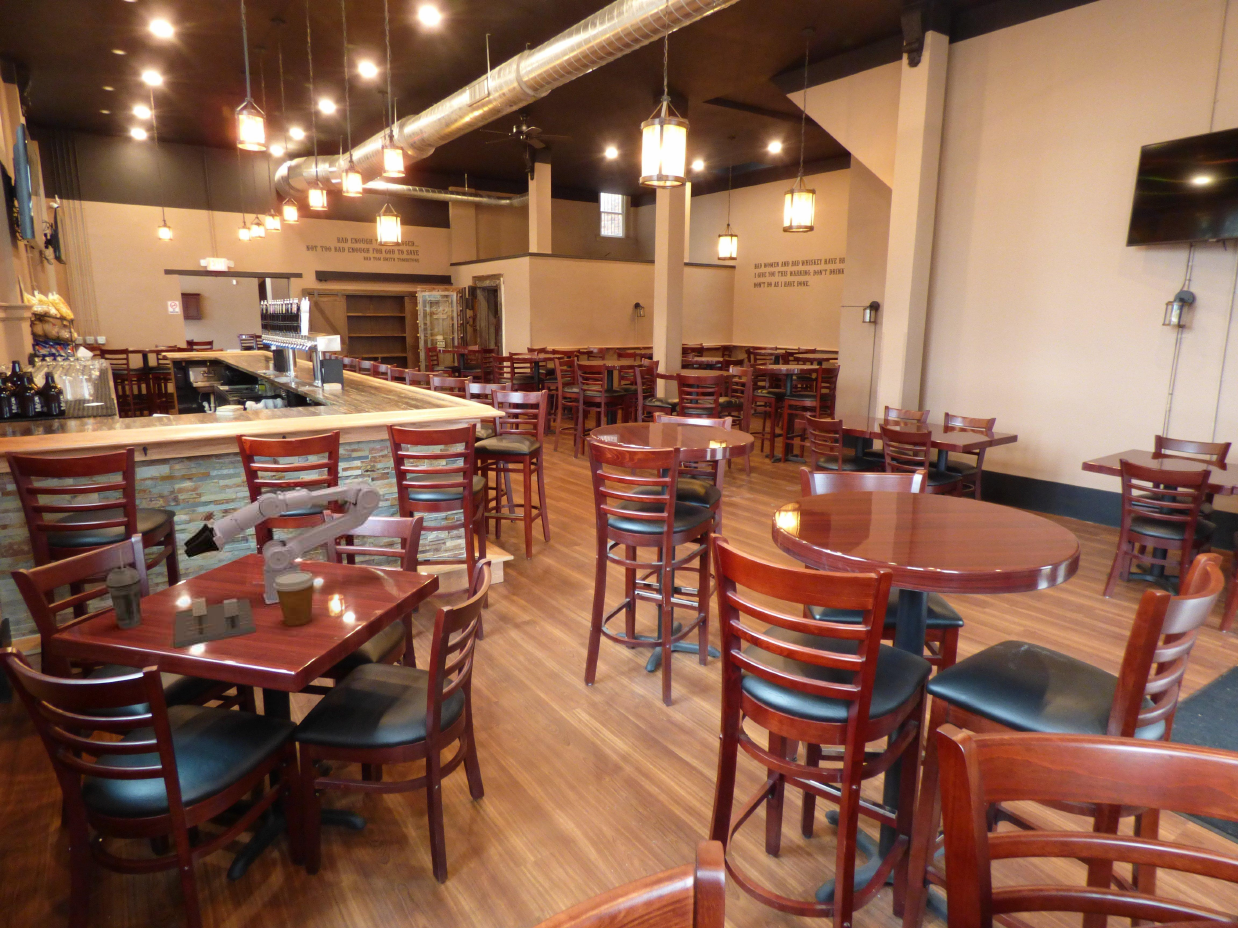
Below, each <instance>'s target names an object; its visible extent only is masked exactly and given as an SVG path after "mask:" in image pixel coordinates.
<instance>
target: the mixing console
mask: <svg viewBox="0 0 1238 928" xmlns="http://www.w3.org/2000/svg"><path fill="white" fill-rule="evenodd" d="M237 606H238V614H239V615H236V616H231V617H226V618H225V611H224V603H217V604H212V605H206V611H207V614H205V615H200V616H194V617H193V610H192V608H190V609H182V610H178V611H175V612H174V613H175V615H174V649H179V648H182V647H183V646H184V647H188V646H193V645H198V644H203V643H206V642H213V641H217V640H223V639H227V638H232V637H237V636H242V635H247V634H253V633H256V626H255V622H254V617H253V613H252V612H253V611H252V608H251V605H250V601H249V598H243V599H239V600H237ZM178 647H179V648H178Z"/></svg>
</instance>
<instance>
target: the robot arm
mask: <svg viewBox="0 0 1238 928" xmlns="http://www.w3.org/2000/svg"><path fill="white" fill-rule="evenodd" d="M338 500H344V501H348V502H349V503H350V505H349V508H348V511H347V512H346V513H344V514H341V515H339V516H337V517H335V518H333V519H330V520H328V521H325V522H324V523H321V524H320V525H317V526H314V527H313V528H311V529H308V530H306V531H303V532H302V533H301V532H300V533H299V534H296V535H294V536H289V537H287V536H286V537H284V538H282V539H272V540H270V541H268V542H266V543H265V544H264V545H263V547H262V549H261V553H262V554H261V555H262V557H263V558H264V561H265V562H264V563H265V564H264V565H263V566H262V570H263V580H264V590H265V593H263V599H264V601H265V604H266V605H271V604H275V603H280V602H279V598H278V594H277V590H276V589H275V587H274V583H275V579H276V578H277V577H278V576H280V575H283V574H286V573H290V572H298V571H301V566H300V564H299V563H296V564H295V563H294V564H293V563H292V562H293V561H295V560H297V559H298V558H299V557H301V555H302V554H303V553H305V552H307V551H310V550H313V549H315V548H316V547H319V546H321V545H323V544H325V543H326V542H330V541H331V540H334V539H335V538H338V537H340V536H342V535H345V534H346V533H349V532H351V531H353V530H355V529H358V528H360V527H362V526H364V524H366V522H367V521H368V520H369V518H370V517H371V516H372V514H373V513H374V512H375V511H376V510H378V508H379V505H380V502H381V494H380V492H379V490H377V489H376V488H375V487H373V486H372V484H370V483H369V482H366V481H361V482H351V483H347V484H340V485H336V486H331V487H329V488H322V489H319V490H318V489H317V490H314V491H309V490H308V489H306V488H301V486H299V487H295V490H290V491H289V490H288V491H283V492H282V491H281V490H279V491H276V494H275V493H262V494H261V495H260V496H259V497H258V499H257V500H256V501H254V502H252V503H249V504H247V505H245V506H243V507H242V508H240V509H237V510H236V511H233V512H232V513H231V514H228V515H226V516H225V517H224V518H221V519H219V520H217V521H215V520H214V519H213V518H212V519H210V520H209V521H210V522H209V523H210V524H211V526H210V527H209V525H208V524H207V523H204V524H203V525H202V526H201V528H200V529H199V530H198V531H197V532H196V533H195V534H193V535H192V536H191V537H189V538H188V539H187V540H186V541H185V542H183V545H184V546H185V550H183V553H184V554H185V555H186V556H187V557H188V558H189V559H190V558H193V557H197V556H199V555H202V554H206V553H211V552H219V551H220V548H219V547H218V546H219V545H222V543H223V544H226V543H227V542H228V541H229V540H231V539H233V538H235V537H237V536H239V535H241V534H242V533H244V532H246V531H249V530H250V529H252V528H254V527H255V526H257V525H259V524H260V523H262V522H263V521H265V520H267V519H270V518H272V519H273V518H274V519H275V518H278V517H280V516H281V515H282V514H287V513H292V512H298V511H303V510H308V509H310V508H311V507H312V505H313V504H318V503H324V502H332V501H338Z"/></svg>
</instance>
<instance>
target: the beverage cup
mask: <svg viewBox="0 0 1238 928" xmlns="http://www.w3.org/2000/svg"><path fill="white" fill-rule="evenodd" d="M118 557H119V564H120V566H118V567H116V568H113V570H111V571H110V572H109V574H108V576H107V577H106V585H105V587H107V591H108V593H109V595H110V598H111V602H112V605H113V606H112V607H113V609H114V613H115V617H116V621H117V624H118V626H119V629H121V630H127V629H132V628H135V627H136V628H137V627H138V626H140V625H141V621H142V620H141V617H142V612H141V592H140V591H141V590H140V588H141V581H142V579H141V577H140V574H139V572H138V571H137V570H136V569H135V568H133V567H130V566H127V565H125V566H124V562H123V561H124V560H123V556H122V549H121V548H119V549H118Z"/></svg>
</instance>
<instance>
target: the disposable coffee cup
mask: <svg viewBox="0 0 1238 928" xmlns="http://www.w3.org/2000/svg"><path fill="white" fill-rule="evenodd" d="M315 579H316V578H314V576H313V574H312V573H311V572H309V571H303V570H302V571H298V572H290V573H286V574H283V575H280V576H278V577H277V578H276V579H275V583H274V587H275V589H276V590H277V594H278V598H279V602H278V603H279V605H280V609H281V613H282V617H283V621H284V624H285V625H286V626H288V627H297V626H302V625H305V624H307V623H309V622H311V621H312V611H313V589H314V588H313V587H314V582H315Z"/></svg>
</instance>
